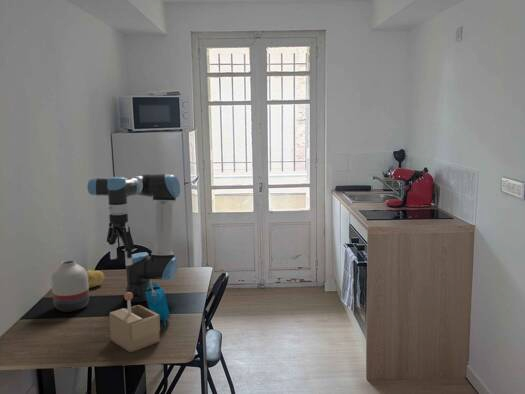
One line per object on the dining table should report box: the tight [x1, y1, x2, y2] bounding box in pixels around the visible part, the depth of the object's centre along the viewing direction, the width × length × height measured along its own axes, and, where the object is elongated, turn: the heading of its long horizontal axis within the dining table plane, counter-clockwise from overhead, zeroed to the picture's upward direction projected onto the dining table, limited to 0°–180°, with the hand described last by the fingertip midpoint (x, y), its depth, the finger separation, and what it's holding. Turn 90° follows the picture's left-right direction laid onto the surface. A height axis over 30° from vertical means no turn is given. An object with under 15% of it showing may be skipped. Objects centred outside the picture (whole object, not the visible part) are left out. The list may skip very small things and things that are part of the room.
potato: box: [86, 269, 105, 289], centre depth 284 cm, size 10×14×10 cm
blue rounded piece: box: [146, 280, 171, 327], centre depth 236 cm, size 17×10×20 cm, turn 15°
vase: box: [51, 259, 90, 313], centre depth 254 cm, size 17×17×24 cm
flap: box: [109, 292, 142, 325], centre depth 213 cm, size 16×7×10 cm, turn 44°
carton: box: [108, 304, 161, 353], centre depth 218 cm, size 17×15×12 cm
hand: (121, 261), depth 221 cm, fingers open, 13 cm apart
